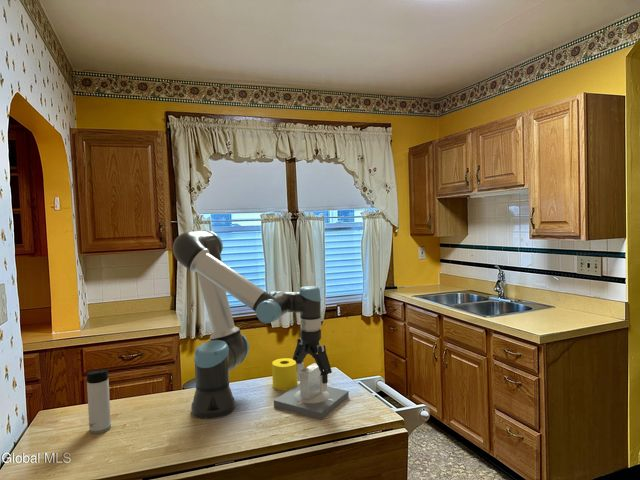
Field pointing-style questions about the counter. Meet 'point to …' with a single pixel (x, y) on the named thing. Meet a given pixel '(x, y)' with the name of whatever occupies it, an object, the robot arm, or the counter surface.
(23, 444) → the counter surface
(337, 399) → the dial plate
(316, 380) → the dial handle
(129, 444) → the counter surface
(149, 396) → the counter surface
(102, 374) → the travel mug
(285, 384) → the yellow toilet paper roll
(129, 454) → the counter surface
